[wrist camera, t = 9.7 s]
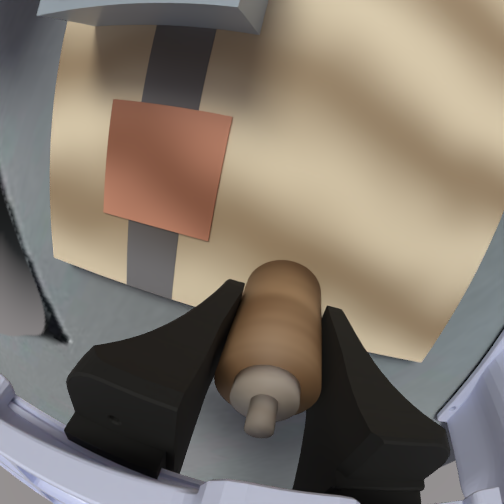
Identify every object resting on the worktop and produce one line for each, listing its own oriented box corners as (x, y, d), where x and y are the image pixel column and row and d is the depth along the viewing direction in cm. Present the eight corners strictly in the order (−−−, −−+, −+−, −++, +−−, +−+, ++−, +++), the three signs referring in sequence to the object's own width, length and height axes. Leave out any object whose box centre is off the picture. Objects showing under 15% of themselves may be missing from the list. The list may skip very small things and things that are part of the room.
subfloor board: (416, 347, 15) (421, 363, 14) (66, 247, 16) (52, 258, 15) (532, -9, 6) (546, -14, 5) (127, -100, 7) (114, -109, 6)
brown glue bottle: (307, 330, 14) (296, 465, 8) (239, 312, 14) (195, 440, 8) (331, 271, 13) (339, 410, 7) (254, 250, 13) (207, 379, 7)
